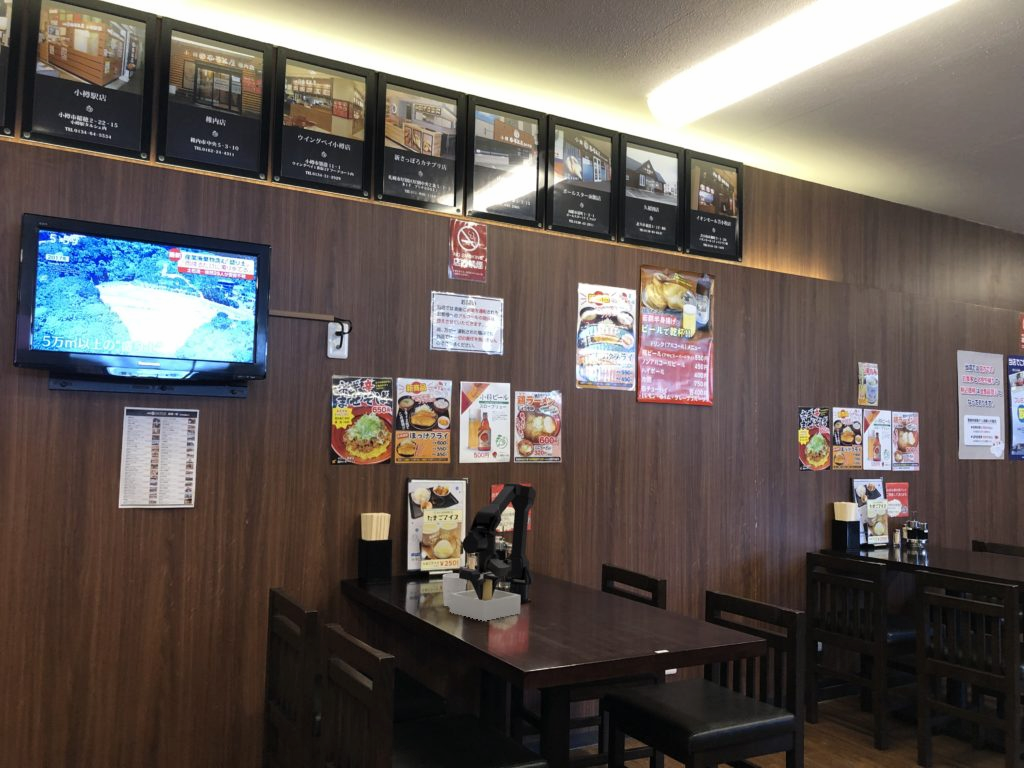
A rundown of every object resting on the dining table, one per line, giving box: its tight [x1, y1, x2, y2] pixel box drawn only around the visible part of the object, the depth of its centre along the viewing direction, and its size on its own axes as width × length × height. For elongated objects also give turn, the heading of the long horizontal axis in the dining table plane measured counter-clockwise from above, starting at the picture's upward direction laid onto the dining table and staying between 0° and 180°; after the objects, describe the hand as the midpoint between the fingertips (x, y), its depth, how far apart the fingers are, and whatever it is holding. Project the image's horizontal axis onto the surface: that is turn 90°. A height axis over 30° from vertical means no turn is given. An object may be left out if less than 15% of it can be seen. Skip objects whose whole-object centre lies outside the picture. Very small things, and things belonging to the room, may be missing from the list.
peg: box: [482, 578, 492, 601], centre depth 258 cm, size 4×4×8 cm
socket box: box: [449, 589, 521, 622], centre depth 258 cm, size 16×16×6 cm
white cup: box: [442, 572, 467, 608], centre depth 268 cm, size 8×8×10 cm
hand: (485, 599), depth 258 cm, fingers closed on peg, 4 cm apart
